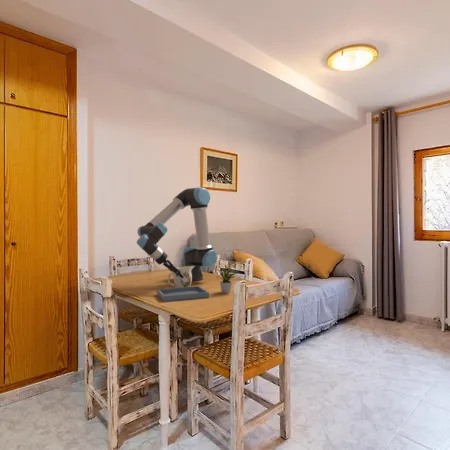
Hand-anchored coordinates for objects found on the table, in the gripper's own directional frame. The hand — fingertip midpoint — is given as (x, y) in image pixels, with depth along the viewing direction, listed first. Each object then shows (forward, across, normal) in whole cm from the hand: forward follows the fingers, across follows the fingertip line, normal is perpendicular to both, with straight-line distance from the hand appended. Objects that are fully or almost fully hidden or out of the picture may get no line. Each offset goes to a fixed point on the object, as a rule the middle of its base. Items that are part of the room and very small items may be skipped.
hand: (183, 279), depth 200 cm
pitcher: (+4, 0, -5) cm, 7 cm away
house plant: (+19, +18, +10) cm, 28 cm away
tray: (+1, +17, -8) cm, 19 cm away
